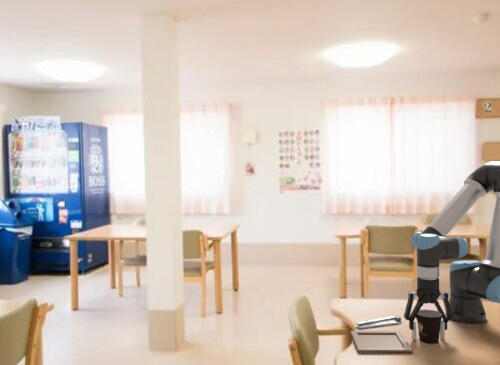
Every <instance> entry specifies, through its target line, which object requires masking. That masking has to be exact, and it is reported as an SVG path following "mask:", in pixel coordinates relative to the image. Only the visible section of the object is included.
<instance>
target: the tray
mask: <svg viewBox="0 0 500 365" xmlns="http://www.w3.org/2000/svg"><path fill="white" fill-rule="evenodd" d="M350 335H351V338H352V340H353V342H354V345H355V348H356V350H357V353H358V354H390V355H391V354H396V355H397V354H399V355H401V354H407V355H408V354H413V353H414V350H413V348H412V347H411V345H410V344H409V342H408V340H406V337H404V334H402V331H401V330H350Z"/></svg>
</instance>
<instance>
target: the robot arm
mask: <svg viewBox="0 0 500 365" xmlns="http://www.w3.org/2000/svg"><path fill="white" fill-rule="evenodd" d="M491 191H493V192H492V193H493V195H494V197H495V198H496V200H495V204H494V209H493V215H492V220H491V225H490V232H489V235H488V242H487V247H486V251H485V257H484V259H483V260H481V261H480V260H466V259H465V260H457V261H456V260H455V261H452V262H451V263H450V266H449V293H448V292H447V291H440V278H439V277H440V261H442V260H450V259H460V258H464V257H465V256H466V255H467V254H468V251H469V246H468V242H467V240H466V239H465V238H463V237H460V236H457V237H456V236H453V237H448V235H449V233H450V232H451V231H452V230H453V229H454V228H455V226H456V225H457V224H458V223H459V222H460V220H462V218H463V217H465V215H466V214H467V213H468V212H469V210H471V208H472V207H473V206H475V203H476V202H477V201H479V199H480V198H484V197H486V195H487V194H488V193H490V192H491ZM410 242H411V246H412V247H413V249H415V250H416V276H417V278H416V290H415V291H413V292H412V291H408V292H407V297H408V298H407V302H406V306H405V309H404V310H405V311H404V314H403V317H404V319H405V321H408V329H409V330H410V331H411V338H412V339H413V340H414V341H416V340H417V320H416V316H417V313H418V312H419V310H422V307H423V306H424V305H425V304H430V305H431V304H433V305H434V306H435V307H436V311H438V312H440V313H442V318H441V326H440V334H439V339H441V340H442V341H446V332H445V331H448V323H449V321H455V322H459V323H460V322H461V323H466V324H467V323H470V324H478V323H483V322H486V320H487V311H486V309H485V307H484V303H483V301H482V299H484V300H487V301H488V302H492V303H496V304H500V160H492V161H488V162H486V163H484V164H482V165H480V166H479V167H478V168H475V170H474V171H473V172H471V173H470V174H469V175H468V176H467V177H466V179H465V180H464V182H463V186H462V187H461V188H460V189H459V190H458V192H456V194H454V196H453V197H452V198H451V200H450V201H449V202H448V203H447V204H446V205H445V206H444V208H442V210H441V211H440V212H439V213H438V214H437V215H436V216H435V218H434V219H432V221H431V222H430V223H429V224H428V226H426V228H425V229H424V230H422V231H416V232H414V233H413V234H412V235H411V238H410ZM416 296H417V297H418V299H417V300H416V304H415V305H414V307H413V304H414V299H415V298H416ZM439 297H440V298H441V299H442V302H443V305H444V309H445V312H444V311H443V308H442V306H441V305H440V302H439V301H438V299H439ZM412 308H413V309H412Z"/></svg>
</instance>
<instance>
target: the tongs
mask: <svg viewBox="0 0 500 365" xmlns="http://www.w3.org/2000/svg"><path fill="white" fill-rule="evenodd" d="M401 323H402V318H401V317H400V316H394V315H392V316H391V315H390V316H386V317H379V318H374V319H368V320H363V321H362V320H361V321H358V322H355V325H356V326H357V328H358V329H360V330H364V329H371V328H379V327H386V326H395V325H401Z"/></svg>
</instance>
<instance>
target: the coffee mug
mask: <svg viewBox="0 0 500 365" xmlns="http://www.w3.org/2000/svg"><path fill="white" fill-rule="evenodd" d="M415 320H416V324H417V329H418V330H417V331H418V336H419V338H418V339H419V341H420V342H421V343H423V344H426V345H427V344H428V345H436V344H437V345H438V343H439V341H440V326H441V320H442V313H440V312H438V310H434V309H420V310H419V312H418V313H417V316H416V318H415Z"/></svg>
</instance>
